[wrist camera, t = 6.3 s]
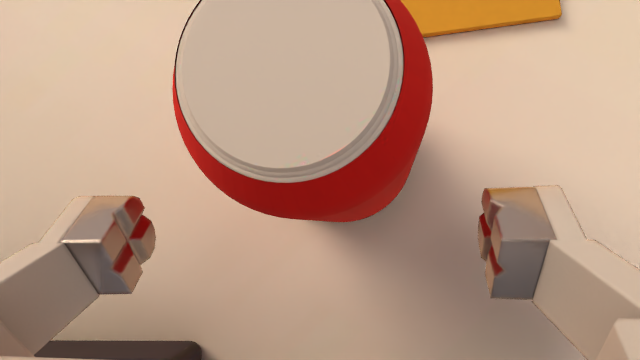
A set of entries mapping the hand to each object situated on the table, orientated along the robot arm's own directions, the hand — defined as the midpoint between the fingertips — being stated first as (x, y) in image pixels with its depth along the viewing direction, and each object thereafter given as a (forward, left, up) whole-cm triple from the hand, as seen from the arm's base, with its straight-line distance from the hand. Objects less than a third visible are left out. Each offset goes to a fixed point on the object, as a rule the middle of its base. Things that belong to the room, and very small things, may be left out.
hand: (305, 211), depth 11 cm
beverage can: (0, +3, -10) cm, 11 cm away
